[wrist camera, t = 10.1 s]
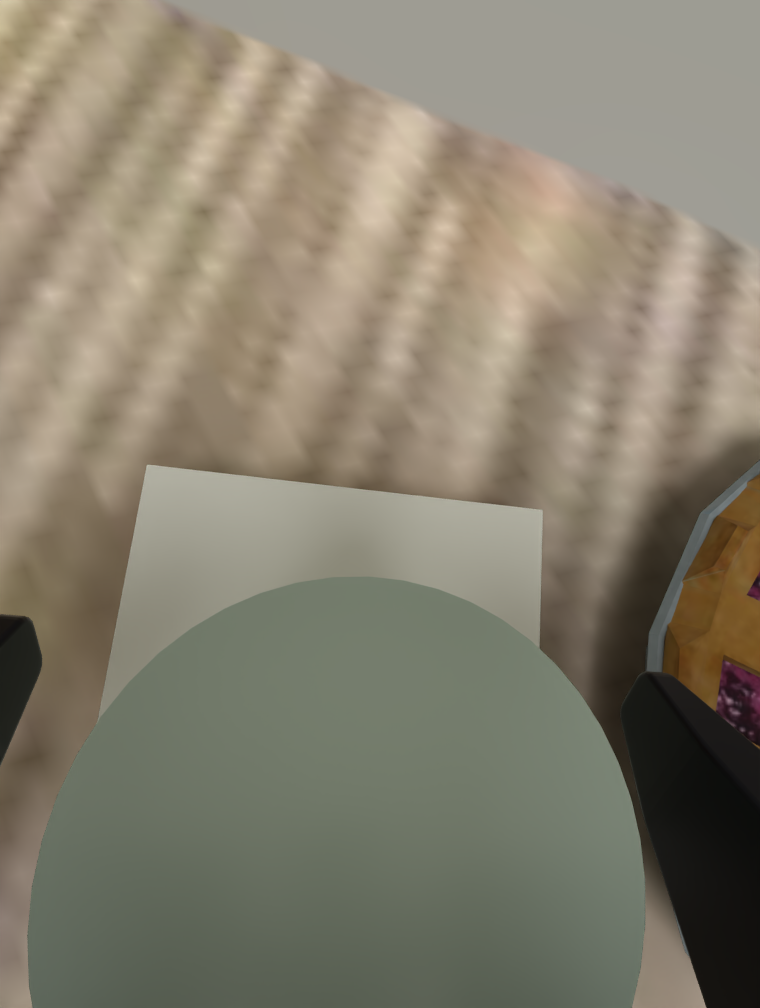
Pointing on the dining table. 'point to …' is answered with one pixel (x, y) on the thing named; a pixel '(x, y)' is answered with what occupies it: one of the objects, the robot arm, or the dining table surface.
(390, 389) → the dining table surface
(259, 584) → the stand
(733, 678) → the pie
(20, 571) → the dining table surface
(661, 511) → the dining table surface
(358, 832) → the ball
